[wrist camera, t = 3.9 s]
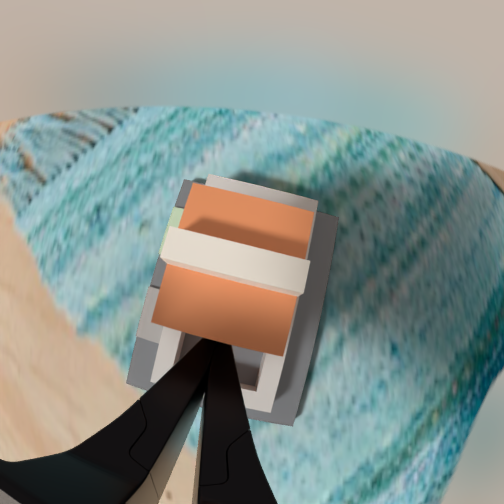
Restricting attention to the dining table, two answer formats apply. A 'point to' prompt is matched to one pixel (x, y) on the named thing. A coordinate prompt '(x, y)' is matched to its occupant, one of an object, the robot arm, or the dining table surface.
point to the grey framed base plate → (247, 361)
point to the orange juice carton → (234, 269)
